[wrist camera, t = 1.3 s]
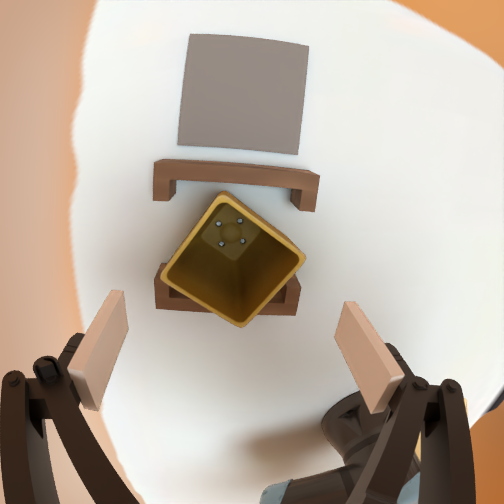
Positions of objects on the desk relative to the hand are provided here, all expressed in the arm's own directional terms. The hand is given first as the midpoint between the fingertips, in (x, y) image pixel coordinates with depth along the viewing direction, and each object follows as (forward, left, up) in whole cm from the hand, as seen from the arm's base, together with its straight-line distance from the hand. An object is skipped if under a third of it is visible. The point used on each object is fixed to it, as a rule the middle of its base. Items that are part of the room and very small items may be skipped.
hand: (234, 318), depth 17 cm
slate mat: (+15, 0, -16) cm, 22 cm away
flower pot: (0, 0, -16) cm, 16 cm away
